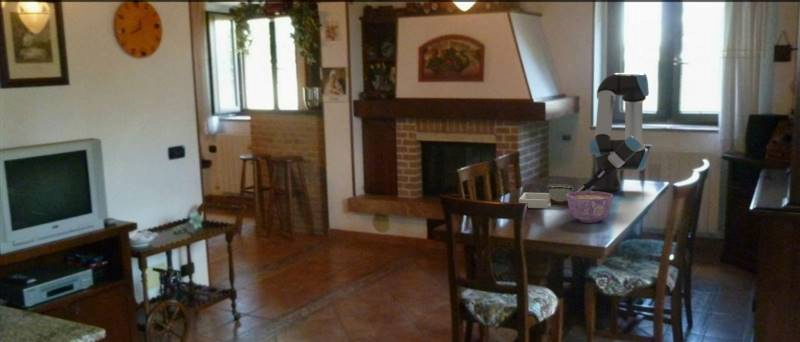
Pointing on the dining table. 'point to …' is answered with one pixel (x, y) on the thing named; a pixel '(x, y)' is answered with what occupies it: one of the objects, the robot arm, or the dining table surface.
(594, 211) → the bowl of food
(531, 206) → the frame
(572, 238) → the dining table surface
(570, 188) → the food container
